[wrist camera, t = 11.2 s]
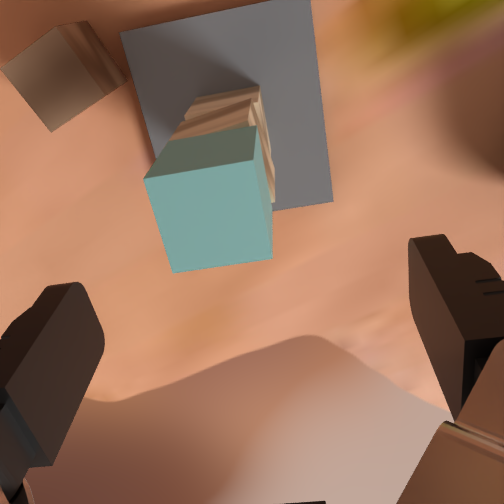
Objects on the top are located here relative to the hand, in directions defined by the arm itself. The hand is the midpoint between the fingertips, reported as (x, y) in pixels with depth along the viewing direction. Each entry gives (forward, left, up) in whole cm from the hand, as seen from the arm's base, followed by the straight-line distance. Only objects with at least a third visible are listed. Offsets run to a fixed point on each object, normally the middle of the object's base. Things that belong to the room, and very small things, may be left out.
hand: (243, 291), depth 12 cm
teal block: (+3, -3, -16) cm, 17 cm away
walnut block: (-4, -14, -30) cm, 33 cm away
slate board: (+2, -3, -29) cm, 30 cm away
